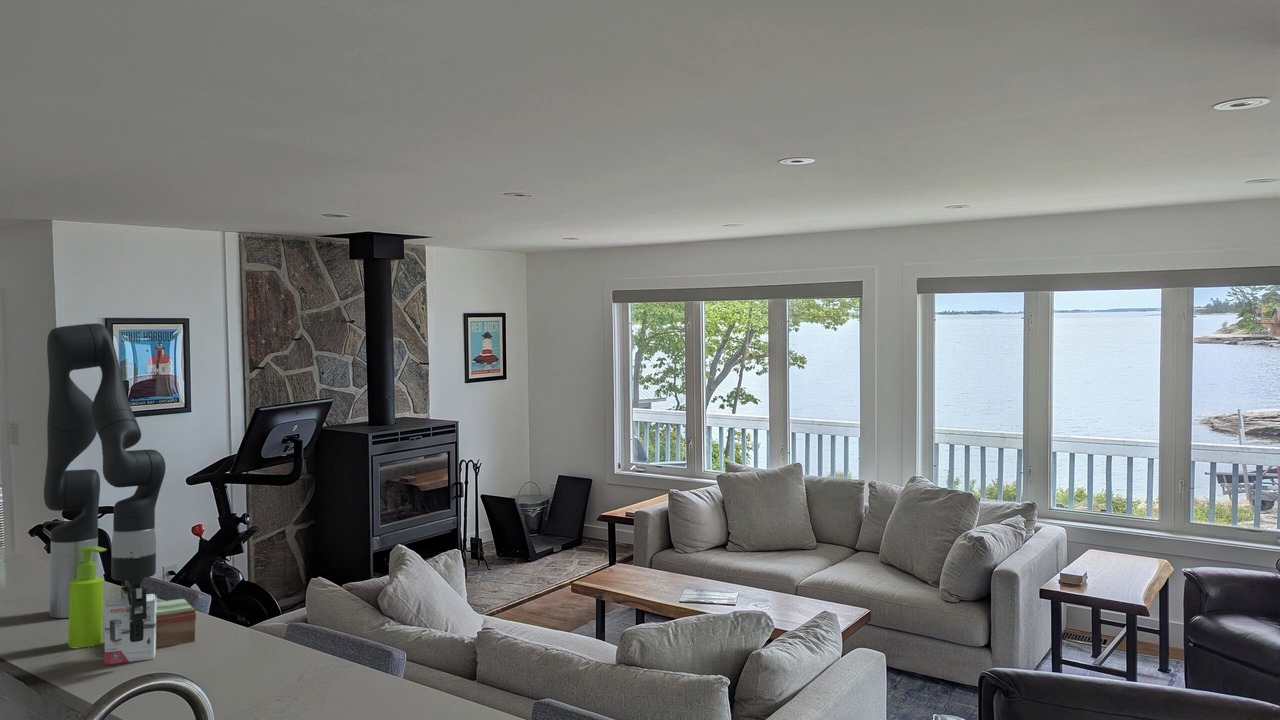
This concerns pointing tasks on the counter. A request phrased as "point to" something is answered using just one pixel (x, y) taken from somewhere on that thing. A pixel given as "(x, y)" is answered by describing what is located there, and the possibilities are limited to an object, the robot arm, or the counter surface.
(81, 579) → the soap dispenser
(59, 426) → the robot arm
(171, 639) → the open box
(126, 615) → the ink box
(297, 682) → the counter surface
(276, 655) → the counter surface
